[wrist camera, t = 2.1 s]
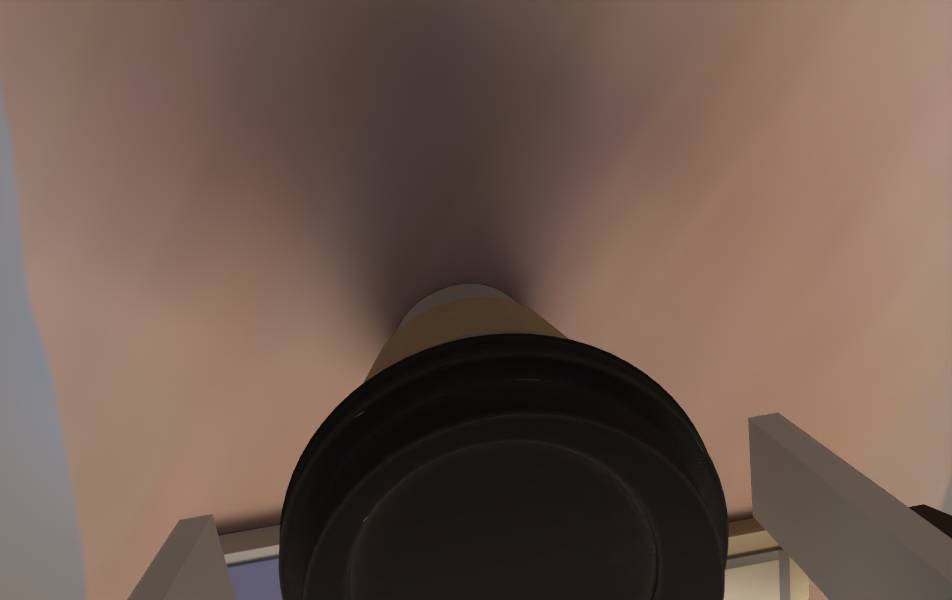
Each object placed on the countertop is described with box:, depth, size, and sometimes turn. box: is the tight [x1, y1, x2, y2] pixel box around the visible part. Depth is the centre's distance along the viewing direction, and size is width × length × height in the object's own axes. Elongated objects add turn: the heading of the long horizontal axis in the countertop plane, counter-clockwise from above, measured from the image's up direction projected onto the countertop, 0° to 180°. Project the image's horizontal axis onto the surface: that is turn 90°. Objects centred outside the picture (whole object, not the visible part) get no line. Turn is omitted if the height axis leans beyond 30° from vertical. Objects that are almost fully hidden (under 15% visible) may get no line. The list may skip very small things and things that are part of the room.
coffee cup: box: [279, 284, 729, 600], centre depth 19 cm, size 9×9×15 cm
